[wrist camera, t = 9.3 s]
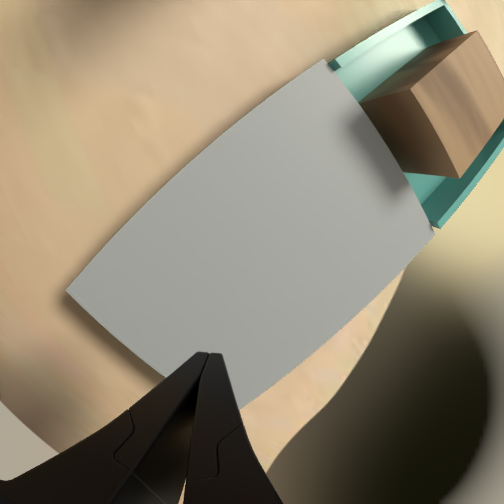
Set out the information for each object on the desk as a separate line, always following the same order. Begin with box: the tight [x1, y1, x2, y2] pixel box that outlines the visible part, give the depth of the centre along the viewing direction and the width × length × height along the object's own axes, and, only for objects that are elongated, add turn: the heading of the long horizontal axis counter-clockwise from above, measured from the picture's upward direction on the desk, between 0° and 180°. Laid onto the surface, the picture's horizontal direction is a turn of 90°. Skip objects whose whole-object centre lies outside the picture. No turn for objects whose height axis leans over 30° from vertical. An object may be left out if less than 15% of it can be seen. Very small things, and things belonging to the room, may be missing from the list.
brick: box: [358, 31, 504, 179], centre depth 16 cm, size 6×6×10 cm
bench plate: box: [66, 59, 435, 410], centre depth 19 cm, size 20×14×3 cm
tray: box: [328, 0, 504, 229], centre depth 18 cm, size 14×13×4 cm
